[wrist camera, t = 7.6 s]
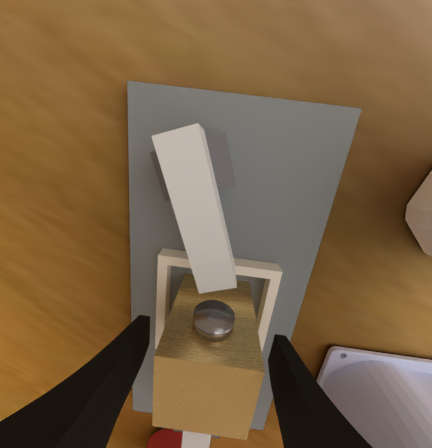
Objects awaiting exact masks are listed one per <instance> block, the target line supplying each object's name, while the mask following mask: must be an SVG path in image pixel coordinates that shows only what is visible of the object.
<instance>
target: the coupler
mask: <svg viewBox="0 0 432 448" xmlns="http://www.w3.org/2000/svg"><path fill="white" fill-rule="evenodd" d="M236 282H237V288H231V289H225V290H219V291H213V292H206V293H200V294H199V292H198V289H197V285H196V282H195V279H194V275H192V274H185V275H184V278H183V281H182V283H181V286H180V289H179V291H178V294H177V296H176V299H175V302H174V304H173V307H172V310H171V312H170V315H169V317H168V320H167V323H166V325H165V328H164V331H163V333H162V336H161V338H160V341H159V344H158V346H157V349H156V352H155V354H154V372H153V418H152V426H156V427H162V428H169V429H176V430H182V431H189V432H196V433H202V434H209V435H215V436H222V437H229V438H235V439H242V440H247V438H248V434H249V430H250V426H251V423H252V419H253V415H254V411H255V407H256V404H257V400H258V396H259V392H260V389H261V385H262V381H263V377H264V374H265V369H264V363H263V357H262V351H261V346H260V340H259V334H258V328H257V322H256V316H255V311H254V305H253V299H252V293H251V287H250V282H245V281H237V280H236Z"/></svg>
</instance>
